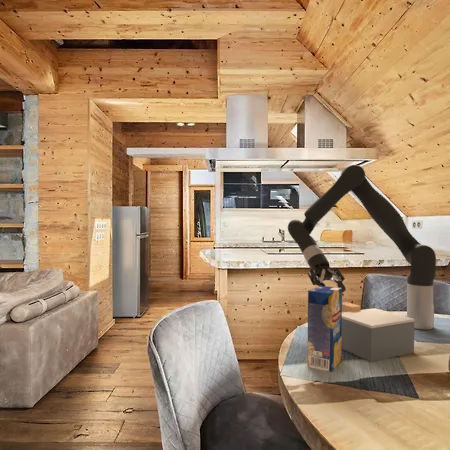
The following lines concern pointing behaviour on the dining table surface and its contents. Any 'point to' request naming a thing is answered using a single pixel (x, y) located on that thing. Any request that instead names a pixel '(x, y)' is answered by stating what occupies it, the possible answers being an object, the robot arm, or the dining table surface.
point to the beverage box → (324, 327)
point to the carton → (377, 340)
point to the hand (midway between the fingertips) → (335, 292)
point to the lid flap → (371, 316)
